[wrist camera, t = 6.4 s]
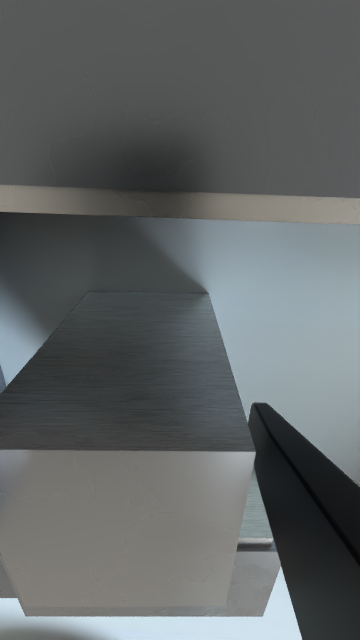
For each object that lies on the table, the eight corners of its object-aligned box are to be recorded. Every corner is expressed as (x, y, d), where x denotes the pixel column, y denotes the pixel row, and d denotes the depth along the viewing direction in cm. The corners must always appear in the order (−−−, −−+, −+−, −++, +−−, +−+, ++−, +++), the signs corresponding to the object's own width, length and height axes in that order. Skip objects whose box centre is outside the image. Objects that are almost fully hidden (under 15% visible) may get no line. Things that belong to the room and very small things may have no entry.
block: (201, 397, 13) (225, 606, 6) (101, 396, 13) (25, 606, 6) (208, 293, 11) (255, 451, 4) (88, 291, 10) (-48, 449, 4)
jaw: (244, 523, 17) (262, 616, 13) (58, 522, 16) (25, 616, 13) (259, 453, 14) (287, 544, 11) (40, 450, 14) (-8, 542, 10)
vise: (257, 542, 18) (277, 634, 14) (30, 541, 17) (-8, 634, 14) (381, 80, 8) (556, -13, 4) (-134, 55, 8) (-424, -70, 4)
